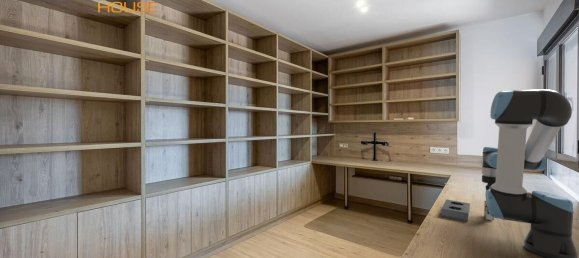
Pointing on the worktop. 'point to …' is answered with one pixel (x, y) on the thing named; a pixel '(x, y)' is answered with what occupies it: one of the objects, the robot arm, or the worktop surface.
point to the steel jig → (455, 210)
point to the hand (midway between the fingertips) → (489, 217)
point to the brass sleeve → (485, 210)
